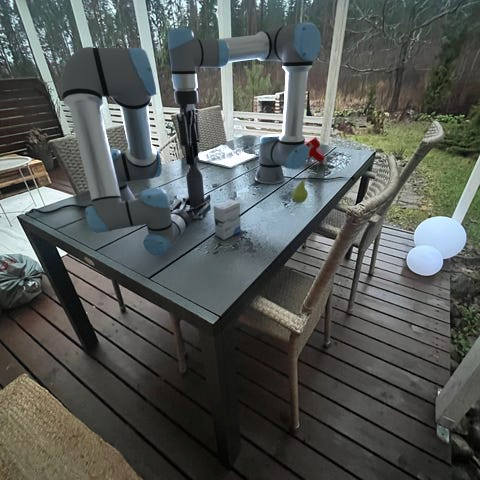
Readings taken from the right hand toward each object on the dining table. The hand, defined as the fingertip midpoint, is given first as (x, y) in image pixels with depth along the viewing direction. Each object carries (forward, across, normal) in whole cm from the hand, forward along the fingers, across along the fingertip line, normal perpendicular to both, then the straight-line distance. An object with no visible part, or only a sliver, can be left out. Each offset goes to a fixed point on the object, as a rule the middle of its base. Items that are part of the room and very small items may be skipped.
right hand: (192, 162), depth 99 cm
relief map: (+22, -81, -14) cm, 85 cm away
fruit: (+22, -22, +40) cm, 51 cm away
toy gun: (+22, -84, +41) cm, 96 cm away
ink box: (+22, +11, +16) cm, 29 cm away
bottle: (+22, 0, 0) cm, 22 cm away
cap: (-2, 0, 0) cm, 2 cm away
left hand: (+16, -5, 0) cm, 17 cm away
